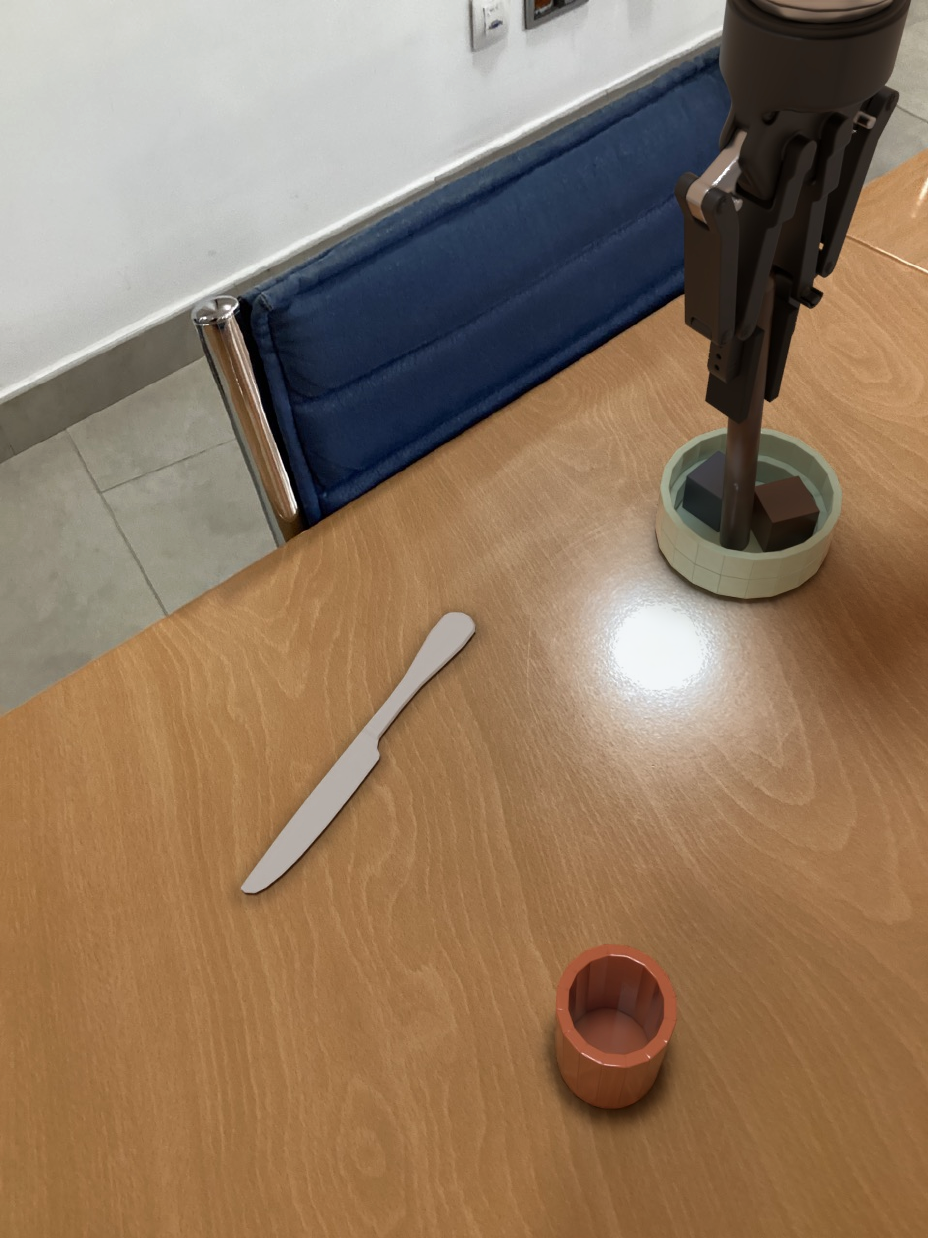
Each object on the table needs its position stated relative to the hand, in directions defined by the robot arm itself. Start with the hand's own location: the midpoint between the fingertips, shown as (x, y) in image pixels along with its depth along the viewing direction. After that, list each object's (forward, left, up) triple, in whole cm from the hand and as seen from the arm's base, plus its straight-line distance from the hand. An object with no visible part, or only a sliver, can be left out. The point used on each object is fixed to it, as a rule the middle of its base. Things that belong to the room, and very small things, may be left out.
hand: (741, 398), depth 63 cm
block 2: (-2, -5, -15) cm, 16 cm away
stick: (-2, 0, -13) cm, 13 cm away
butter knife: (+4, +28, -16) cm, 32 cm away
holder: (-20, +29, -16) cm, 38 cm away
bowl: (0, -3, -16) cm, 16 cm away
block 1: (+3, -4, -15) cm, 16 cm away
